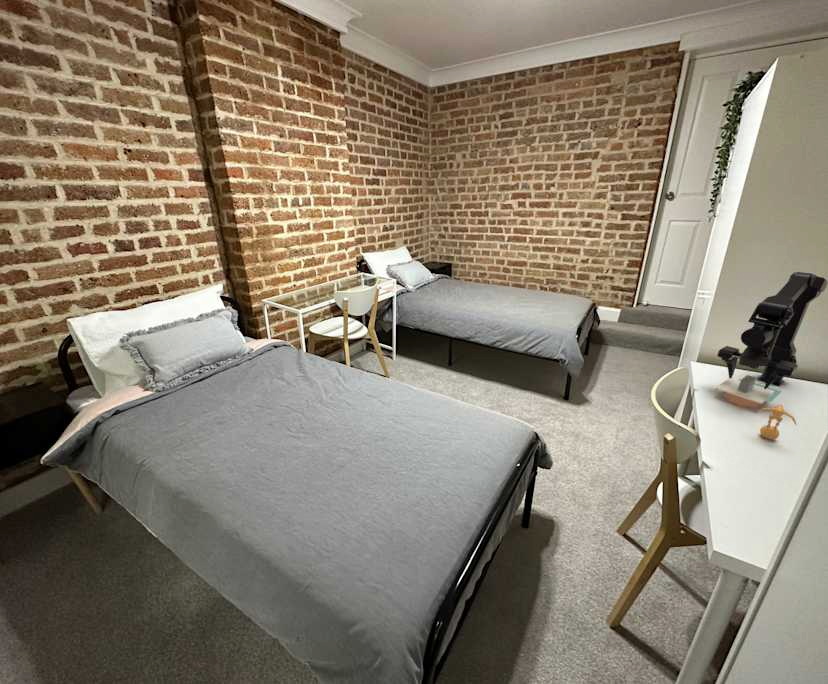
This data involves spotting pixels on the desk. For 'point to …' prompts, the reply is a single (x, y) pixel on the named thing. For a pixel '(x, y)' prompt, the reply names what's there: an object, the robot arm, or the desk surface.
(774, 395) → the mat
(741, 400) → the bowl
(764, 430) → the figurine
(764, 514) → the desk surface
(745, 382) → the lid
